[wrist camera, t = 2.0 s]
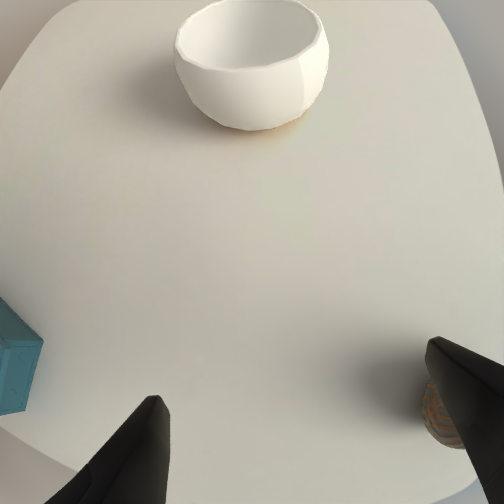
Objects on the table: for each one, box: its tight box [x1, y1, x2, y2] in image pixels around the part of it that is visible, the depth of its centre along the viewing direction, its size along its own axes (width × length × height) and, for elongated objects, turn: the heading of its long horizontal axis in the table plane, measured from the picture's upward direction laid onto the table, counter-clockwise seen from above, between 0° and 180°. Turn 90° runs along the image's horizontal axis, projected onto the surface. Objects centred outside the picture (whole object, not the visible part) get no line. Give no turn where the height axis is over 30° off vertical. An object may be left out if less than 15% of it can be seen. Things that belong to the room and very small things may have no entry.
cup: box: [174, 0, 329, 131], centre depth 23 cm, size 12×12×10 cm
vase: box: [422, 379, 465, 449], centre depth 16 cm, size 7×7×9 cm
